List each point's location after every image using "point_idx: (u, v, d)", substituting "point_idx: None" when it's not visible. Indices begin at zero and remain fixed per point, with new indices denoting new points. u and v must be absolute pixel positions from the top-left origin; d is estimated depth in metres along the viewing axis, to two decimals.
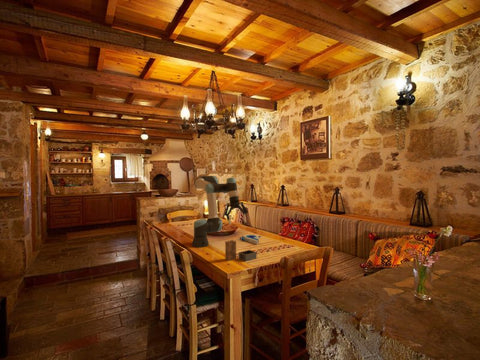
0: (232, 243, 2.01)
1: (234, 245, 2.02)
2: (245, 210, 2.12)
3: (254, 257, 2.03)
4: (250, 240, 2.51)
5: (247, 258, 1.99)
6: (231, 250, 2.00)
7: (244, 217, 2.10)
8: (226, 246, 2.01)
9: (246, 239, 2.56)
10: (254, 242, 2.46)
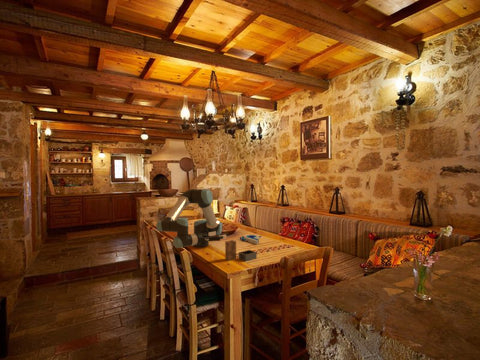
0: (232, 243, 2.01)
1: (234, 245, 2.02)
2: None
3: (254, 257, 2.03)
4: (250, 240, 2.51)
5: (247, 258, 1.99)
6: (231, 250, 2.00)
7: None
8: (226, 246, 2.01)
9: (246, 239, 2.56)
10: (254, 242, 2.46)
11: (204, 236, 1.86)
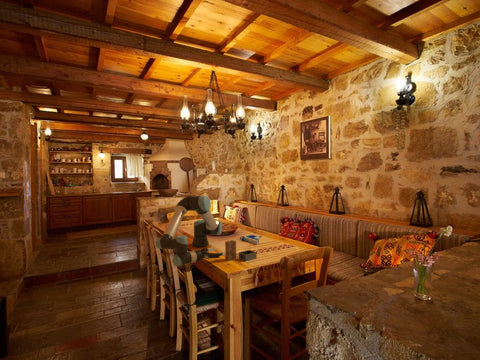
0: (232, 243, 2.01)
1: (234, 245, 2.02)
2: None
3: (254, 257, 2.03)
4: (250, 240, 2.51)
5: (247, 258, 1.99)
6: (231, 250, 2.00)
7: None
8: (226, 246, 2.01)
9: (246, 239, 2.56)
10: (254, 242, 2.46)
11: (203, 253, 1.86)
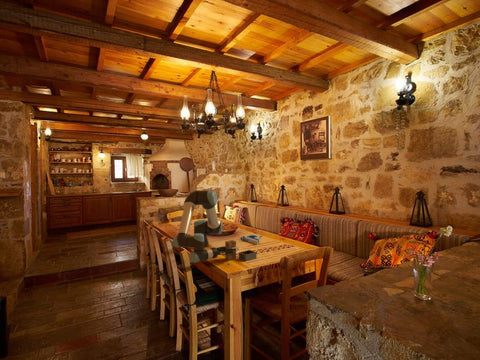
0: (232, 243, 2.01)
1: (234, 245, 2.02)
2: (229, 252, 1.97)
3: (254, 257, 2.03)
4: (251, 240, 2.51)
5: (247, 258, 1.99)
6: None
7: None
8: (226, 246, 2.01)
9: (247, 239, 2.56)
10: (254, 242, 2.46)
11: (219, 250, 1.94)
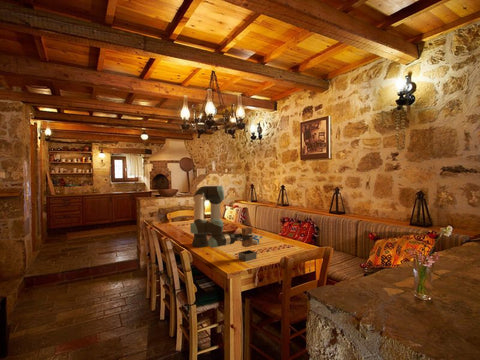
0: (248, 230, 2.02)
1: (250, 232, 2.03)
2: None
3: (254, 257, 2.03)
4: None
5: (247, 258, 1.99)
6: None
7: None
8: (242, 233, 2.02)
9: None
10: (255, 242, 2.45)
11: (236, 236, 1.95)
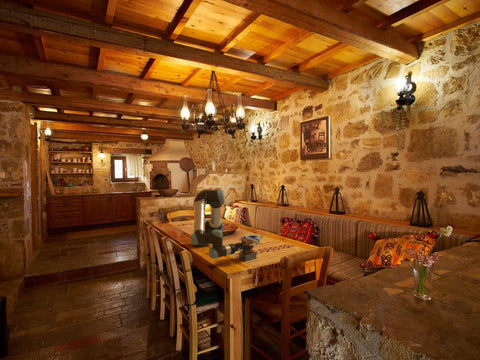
0: (249, 241, 2.02)
1: None
2: None
3: (254, 257, 2.03)
4: None
5: (247, 258, 1.99)
6: None
7: None
8: (243, 244, 2.03)
9: None
10: (255, 242, 2.45)
11: (237, 246, 1.96)
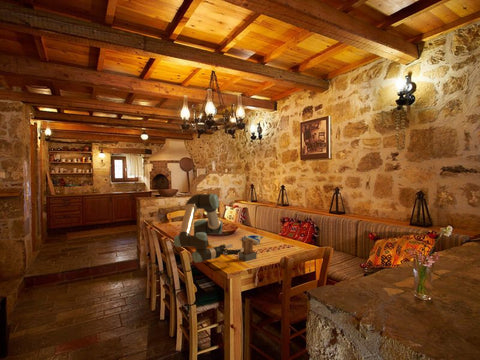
0: (249, 241, 2.02)
1: (250, 244, 2.03)
2: None
3: (254, 257, 2.03)
4: None
5: (247, 258, 1.99)
6: (247, 248, 2.02)
7: None
8: (243, 244, 2.03)
9: None
10: (255, 242, 2.45)
11: (222, 250, 1.88)
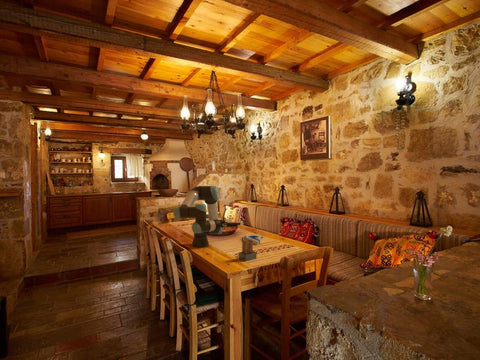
0: (249, 241, 2.02)
1: (250, 244, 2.03)
2: None
3: (254, 257, 2.03)
4: None
5: (247, 258, 1.99)
6: (247, 248, 2.02)
7: None
8: (243, 244, 2.03)
9: None
10: (255, 242, 2.45)
11: (222, 222, 1.87)
